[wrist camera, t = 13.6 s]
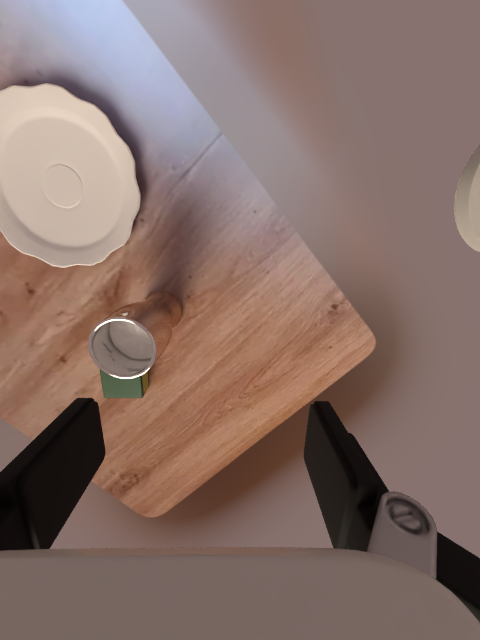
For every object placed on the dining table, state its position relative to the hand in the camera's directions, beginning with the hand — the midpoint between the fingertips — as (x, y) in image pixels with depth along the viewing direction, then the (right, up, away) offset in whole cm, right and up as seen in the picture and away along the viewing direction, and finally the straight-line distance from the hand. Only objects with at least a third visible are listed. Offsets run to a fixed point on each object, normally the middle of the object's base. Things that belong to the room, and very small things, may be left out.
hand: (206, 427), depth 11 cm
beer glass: (-11, +6, +28) cm, 30 cm away
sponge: (-17, -2, +30) cm, 34 cm away
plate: (-22, +23, +22) cm, 39 cm away
